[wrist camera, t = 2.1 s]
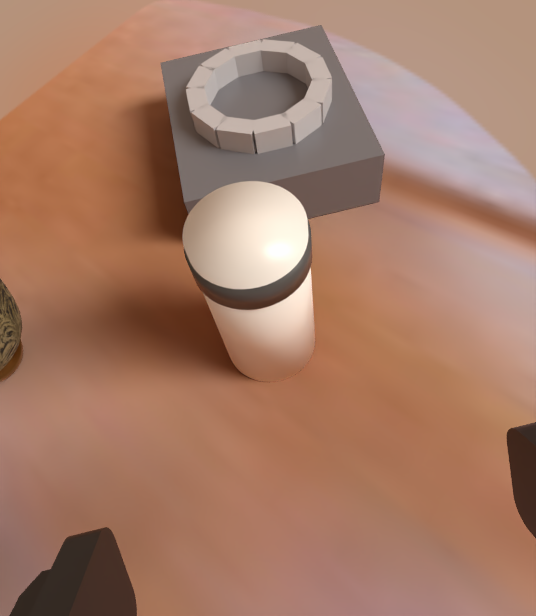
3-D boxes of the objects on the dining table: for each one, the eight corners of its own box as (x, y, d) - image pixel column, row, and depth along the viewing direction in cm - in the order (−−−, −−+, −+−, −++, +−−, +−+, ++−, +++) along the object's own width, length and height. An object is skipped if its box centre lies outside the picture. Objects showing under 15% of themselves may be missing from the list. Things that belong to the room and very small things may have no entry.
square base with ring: (199, 244, 32) (177, 183, 28) (175, 109, 40) (154, 43, 35) (379, 201, 32) (387, 133, 28) (322, 74, 40) (320, 3, 35)
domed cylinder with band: (234, 393, 27) (188, 297, 18) (219, 313, 30) (173, 195, 21) (327, 370, 27) (326, 264, 18) (304, 292, 30) (292, 167, 21)
